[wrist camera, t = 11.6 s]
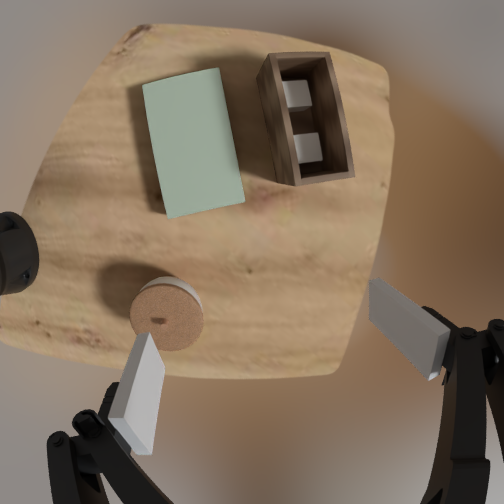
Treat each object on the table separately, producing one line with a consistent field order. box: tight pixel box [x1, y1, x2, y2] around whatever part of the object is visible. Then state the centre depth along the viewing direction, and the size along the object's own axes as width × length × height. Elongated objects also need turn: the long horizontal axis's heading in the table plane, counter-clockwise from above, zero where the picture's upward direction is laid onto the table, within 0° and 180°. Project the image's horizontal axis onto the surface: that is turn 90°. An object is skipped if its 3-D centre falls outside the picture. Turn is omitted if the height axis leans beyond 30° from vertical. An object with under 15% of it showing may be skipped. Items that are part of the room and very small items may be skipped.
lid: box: [142, 67, 245, 219], centre depth 37 cm, size 20×11×4 cm, turn 10°
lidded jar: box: [129, 276, 204, 351], centre depth 40 cm, size 11×11×9 cm
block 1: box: [282, 80, 312, 112], centre depth 36 cm, size 4×4×4 cm
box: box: [256, 52, 355, 186], centre depth 35 cm, size 17×8×10 cm, turn 10°
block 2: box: [293, 133, 323, 164], centre depth 38 cm, size 4×4×4 cm
